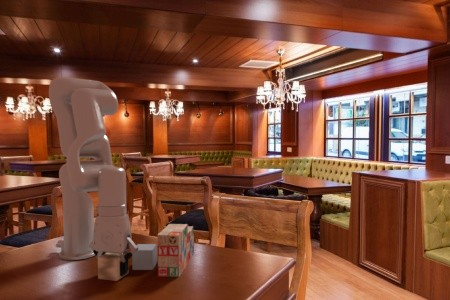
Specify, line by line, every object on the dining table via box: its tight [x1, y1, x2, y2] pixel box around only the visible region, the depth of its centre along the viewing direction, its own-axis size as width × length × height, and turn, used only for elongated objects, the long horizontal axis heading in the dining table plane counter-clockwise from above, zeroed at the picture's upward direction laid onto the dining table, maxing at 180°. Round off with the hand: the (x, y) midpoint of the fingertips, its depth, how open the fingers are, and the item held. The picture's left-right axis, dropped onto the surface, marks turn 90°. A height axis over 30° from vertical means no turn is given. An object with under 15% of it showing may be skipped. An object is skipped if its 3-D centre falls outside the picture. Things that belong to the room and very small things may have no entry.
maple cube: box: [97, 252, 130, 282], centre depth 99 cm, size 6×6×6 cm
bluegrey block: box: [131, 243, 158, 271], centre depth 106 cm, size 6×6×6 cm
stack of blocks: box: [157, 223, 195, 278], centre depth 108 cm, size 21×6×12 cm, turn 174°
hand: (113, 272), depth 99 cm, fingers closed on maple cube, 6 cm apart
